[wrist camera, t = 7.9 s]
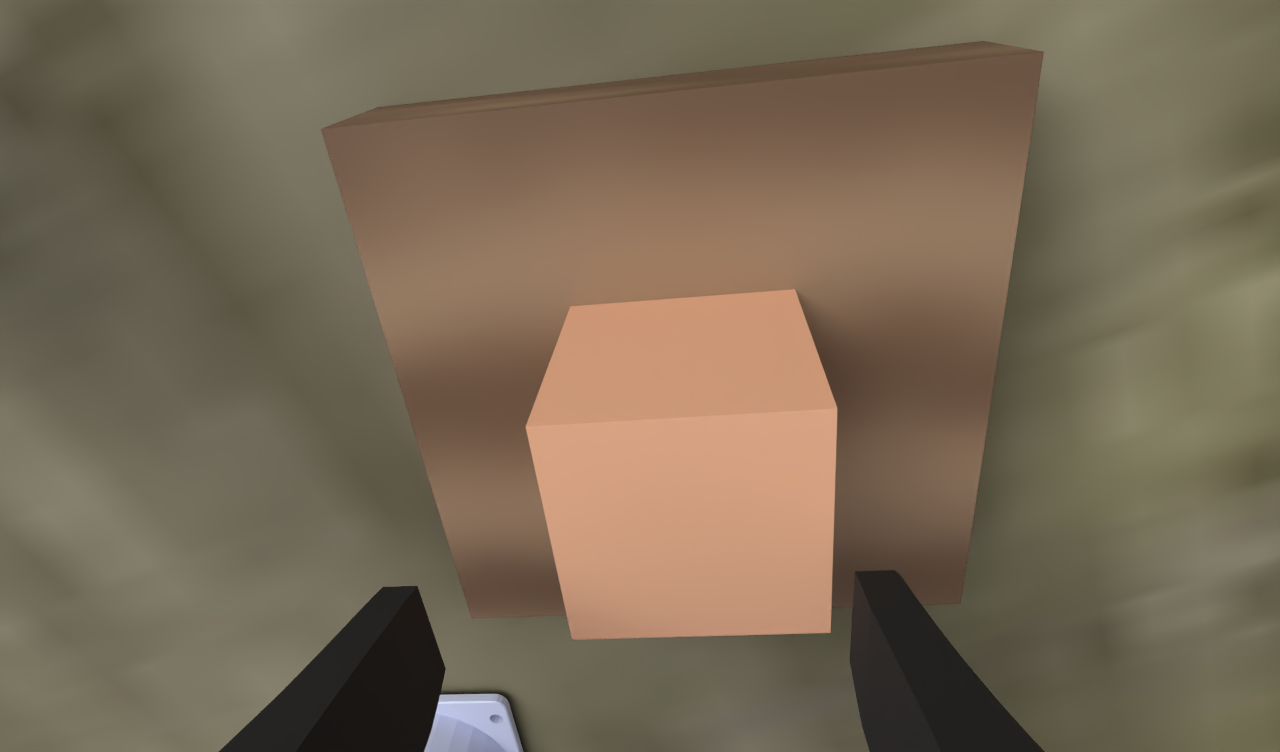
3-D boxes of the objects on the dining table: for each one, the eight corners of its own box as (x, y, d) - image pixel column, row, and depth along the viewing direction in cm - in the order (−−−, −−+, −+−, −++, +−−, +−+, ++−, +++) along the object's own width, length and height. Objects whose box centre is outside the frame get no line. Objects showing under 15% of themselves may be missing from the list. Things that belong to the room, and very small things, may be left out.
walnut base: (928, 530, 22) (960, 603, 20) (495, 548, 24) (471, 618, 21) (983, 41, 16) (1043, 51, 13) (377, 107, 17) (321, 129, 14)
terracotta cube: (795, 474, 18) (830, 632, 13) (599, 484, 18) (571, 639, 14) (795, 289, 15) (836, 407, 11) (570, 306, 16) (525, 426, 12)
